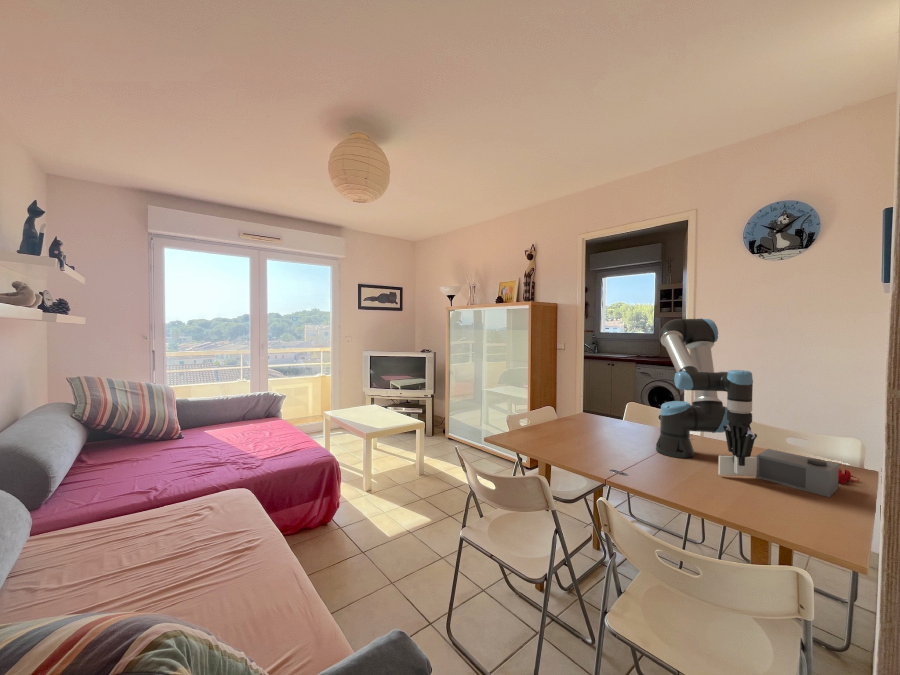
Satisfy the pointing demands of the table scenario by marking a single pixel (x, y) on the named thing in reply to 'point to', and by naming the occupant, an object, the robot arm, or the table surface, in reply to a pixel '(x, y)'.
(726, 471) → the door
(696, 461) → the table surface
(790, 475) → the case
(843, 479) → the alarm clock
